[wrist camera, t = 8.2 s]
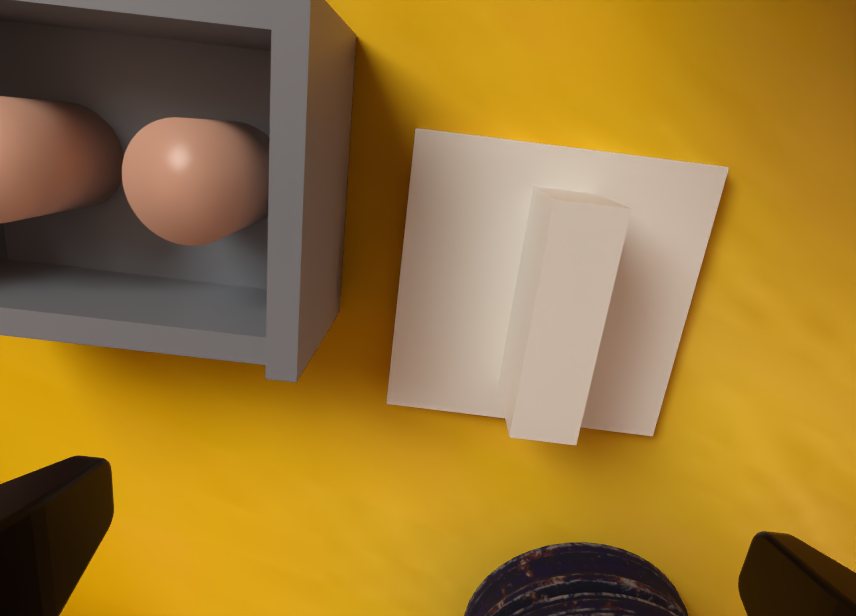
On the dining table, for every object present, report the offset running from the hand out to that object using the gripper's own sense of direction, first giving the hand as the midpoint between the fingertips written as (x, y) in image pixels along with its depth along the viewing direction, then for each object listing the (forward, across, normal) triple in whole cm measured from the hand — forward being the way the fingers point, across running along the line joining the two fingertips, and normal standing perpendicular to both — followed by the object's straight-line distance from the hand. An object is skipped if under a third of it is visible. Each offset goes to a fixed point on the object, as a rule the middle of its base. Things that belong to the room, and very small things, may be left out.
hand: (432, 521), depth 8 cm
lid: (+12, -4, 0) cm, 13 cm away
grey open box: (+12, +9, -3) cm, 16 cm away
